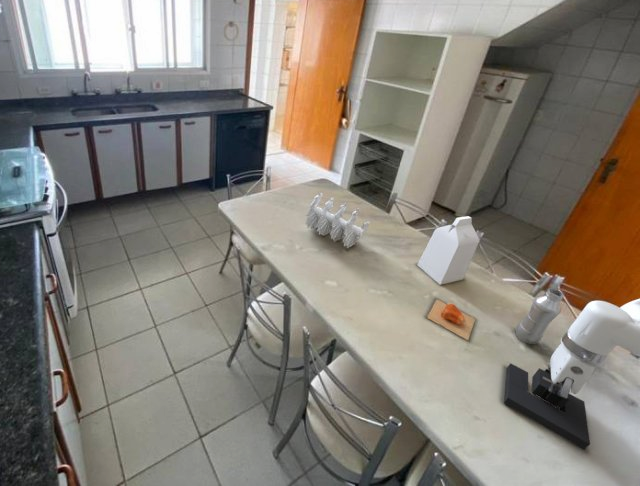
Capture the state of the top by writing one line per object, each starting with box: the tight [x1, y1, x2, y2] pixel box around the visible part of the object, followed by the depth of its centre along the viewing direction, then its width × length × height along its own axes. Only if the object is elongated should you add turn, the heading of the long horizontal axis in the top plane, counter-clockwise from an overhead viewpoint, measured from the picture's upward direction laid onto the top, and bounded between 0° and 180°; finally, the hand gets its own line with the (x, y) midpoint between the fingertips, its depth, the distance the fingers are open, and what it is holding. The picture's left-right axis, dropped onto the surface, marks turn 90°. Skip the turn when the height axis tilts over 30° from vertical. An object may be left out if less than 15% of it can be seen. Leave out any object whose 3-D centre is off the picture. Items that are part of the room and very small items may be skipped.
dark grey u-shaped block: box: [503, 362, 591, 450], centre depth 86 cm, size 16×13×2 cm
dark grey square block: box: [531, 367, 570, 409], centre depth 87 cm, size 6×6×4 cm
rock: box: [426, 299, 476, 341], centre depth 110 cm, size 12×12×4 cm
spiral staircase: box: [305, 192, 370, 249], centre depth 145 cm, size 18×18×25 cm
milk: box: [417, 215, 480, 286], centre depth 126 cm, size 12×12×26 cm
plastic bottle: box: [514, 287, 565, 345], centre depth 101 cm, size 6×7×20 cm
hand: (547, 391), depth 87 cm, fingers closed on dark grey square block, 6 cm apart
